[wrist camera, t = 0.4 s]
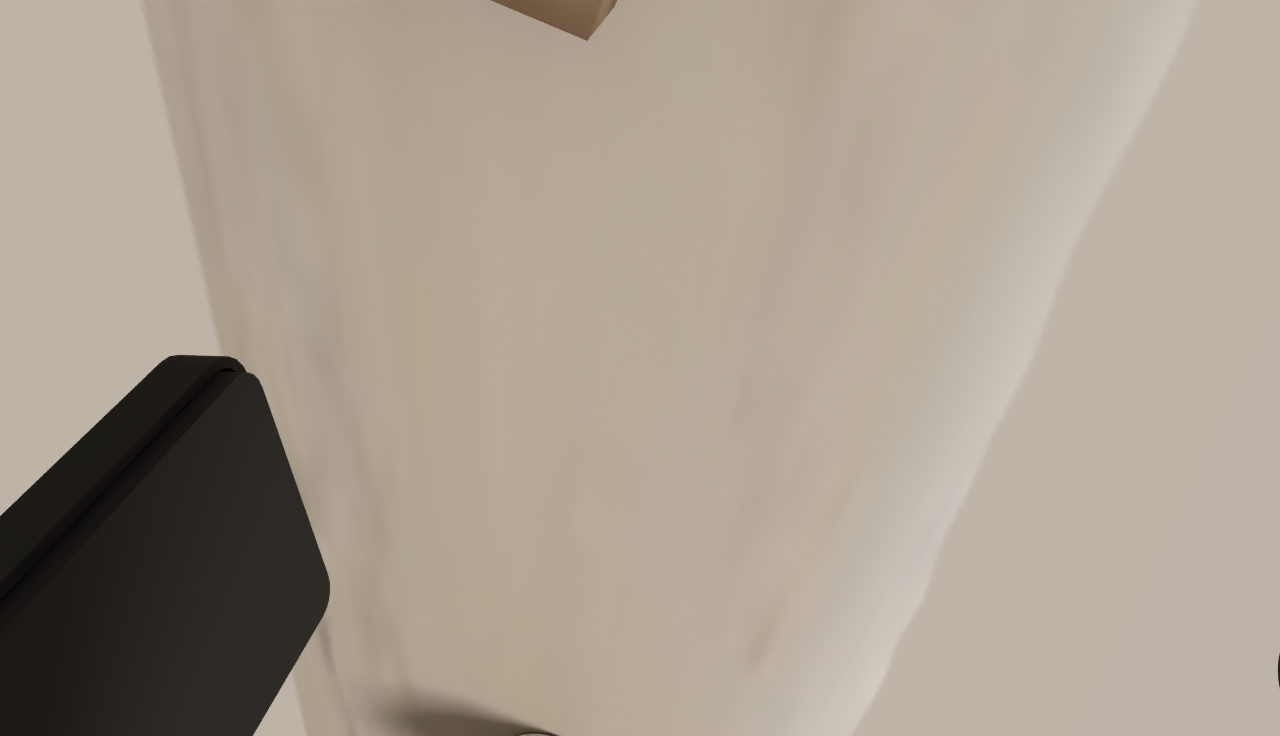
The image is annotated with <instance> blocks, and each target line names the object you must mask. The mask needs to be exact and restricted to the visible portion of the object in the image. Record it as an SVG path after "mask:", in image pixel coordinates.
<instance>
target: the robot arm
mask: <svg viewBox="0 0 1280 736" xmlns="http://www.w3.org/2000/svg"><path fill="white" fill-rule="evenodd" d="M329 594H330V581H329V577H328V573H327V570H326V567H325V565H324V562H323V559H322V556H321V553H320V550H319V547H318V545H317V542H316V539H315V536H314V533H313V530H312V528H311V525H310V522H309V519H308V516H307V513H306V510H305V508H304V505H303V502H302V499H301V496H300V493H299V490H298V488H297V485H296V482H295V479H294V476H293V473H292V470H291V468H290V465H289V462H288V459H287V456H286V453H285V450H284V448H283V445H282V442H281V439H280V436H279V433H278V431H277V428H276V425H275V422H274V419H273V416H272V413H271V411H270V408H269V405H268V402H267V399H266V396H265V393H264V391H263V388H262V386H261V384H260V381H259V380H258V378H257V377H256V376H255V375H254V374H251V373H248V372H246V370H245V368H244V367H243V365H242V364H241V363H240V362H239V361H238V360H237V359H234V358H231V357H227V356H194V355H175V356H170V357H168V358H166V359H165V360H163V361H162V362H161V363H159V365H157V366H156V367H155V368H154V369H153V370H152V371H151V372H150V373H149V374H148V375H147V376H146V377H145V378H144V379H143V380H142V381H141V382H140V383H139V384H138V385H137V386H135V388H133V389H132V390H131V391H130V393H128V394H127V395H126V396H125V397H124V398H123V399H122V400H121V401H120V402H119V403H118V404H117V405H116V406H115V407H114V408H113V409H111V410H110V411H109V412H108V413H107V414H106V415H105V416H104V417H103V418H102V419H101V420H100V421H99V422H98V423H97V424H96V425H95V426H94V427H93V428H92V429H91V430H90V431H89V432H88V433H86V434H85V435H84V436H83V437H82V438H81V439H80V440H79V441H78V442H77V443H76V444H75V445H74V446H73V447H72V448H71V449H70V450H69V451H68V452H67V453H66V454H65V455H63V456H62V458H60V459H59V460H58V461H57V462H56V463H55V464H54V465H53V466H52V467H51V468H50V469H49V470H48V471H47V472H46V473H45V474H44V475H43V476H42V477H41V478H39V480H37V481H36V482H35V483H34V484H33V485H32V486H31V487H30V488H29V489H28V490H27V491H26V492H25V493H24V494H23V495H22V496H21V497H20V498H19V499H18V500H17V501H16V502H15V503H13V504H12V505H11V506H10V507H9V508H8V509H7V510H6V511H5V512H4V513H3V514H2V515H1V516H0V736H253V734H254V733H255V731H256V729H257V728H258V726H259V724H260V723H261V721H262V719H263V717H264V716H265V714H266V712H267V711H268V709H269V707H270V705H271V704H272V702H273V700H274V699H275V697H276V695H277V694H278V692H279V690H280V688H281V687H282V685H283V683H284V682H285V680H286V678H287V676H288V675H289V673H290V672H291V670H292V668H293V666H294V665H295V663H296V661H297V660H298V658H299V656H300V655H301V653H302V651H303V649H304V648H305V646H306V644H307V643H308V641H309V639H310V638H311V636H312V634H313V632H314V631H315V629H316V627H317V626H318V624H319V622H320V621H321V619H322V617H323V615H324V613H325V611H326V608H327V605H328V601H329ZM1278 680H1279V686H1280V655H1279V661H1278Z"/></svg>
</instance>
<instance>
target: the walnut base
mask: <svg viewBox="0 0 1280 736" xmlns="http://www.w3.org/2000/svg"><path fill="white" fill-rule="evenodd" d="M492 1H494V2H496V3H499V4H501V5H503V6H506V7H508V8H511V9H513V10H515V11H518V12H520V13H523V14H525V15H527V16H530V17H532V18H534V19H537V20H539V21H542V22H544V23H546V24H549V25H551V26H553V27H556V28H558V29H561V30H563V31H565V32H568V33H570V34H572V35H575V36H577V37H580V38H582V39H584V40H587V41H588V39H589V38H590V37H591V35H592V34H593V33H594V32H595V30H596V29H597V28H598V27H599V25H600V24H601V23H602V21H603V20H604V19H605V18H606V16H607V15H608V14H609V13H610V11H611V10H612V9H613V7H614V6H615V4H616V1H617V0H492Z"/></svg>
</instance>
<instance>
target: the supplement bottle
mask: <svg viewBox="0 0 1280 736" xmlns="http://www.w3.org/2000/svg"><path fill="white" fill-rule="evenodd" d="M519 736H549V735H544V734H523V735H519Z"/></svg>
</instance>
